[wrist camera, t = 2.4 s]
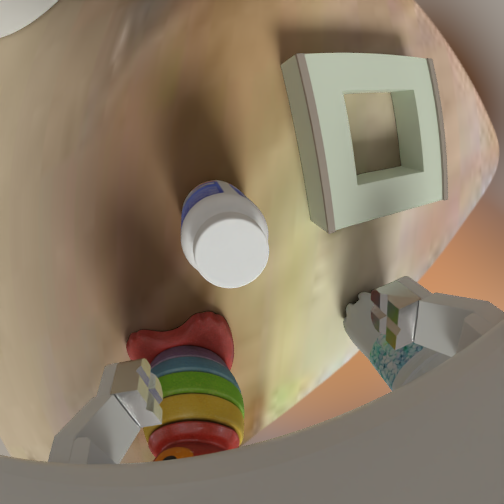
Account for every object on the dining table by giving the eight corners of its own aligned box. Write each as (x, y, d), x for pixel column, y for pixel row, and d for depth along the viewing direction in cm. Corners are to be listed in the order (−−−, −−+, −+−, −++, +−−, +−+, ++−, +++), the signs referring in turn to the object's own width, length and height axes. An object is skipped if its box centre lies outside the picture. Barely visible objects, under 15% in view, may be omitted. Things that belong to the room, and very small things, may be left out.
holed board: (280, 64, 20) (296, 53, 17) (407, 63, 22) (432, 58, 18) (310, 220, 26) (329, 233, 23) (424, 191, 28) (447, 199, 24)
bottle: (367, 337, 33) (461, 456, 15) (326, 328, 31) (425, 474, 13) (395, 291, 32) (513, 400, 14) (356, 276, 30) (491, 409, 11)
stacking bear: (220, 304, 27) (265, 481, 11) (248, 373, 32) (292, 515, 15) (119, 334, 27) (90, 499, 10) (161, 396, 31) (166, 535, 14)
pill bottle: (178, 238, 24) (174, 297, 15) (187, 174, 23) (185, 198, 14) (241, 245, 26) (270, 304, 17) (253, 184, 24) (291, 213, 15)
